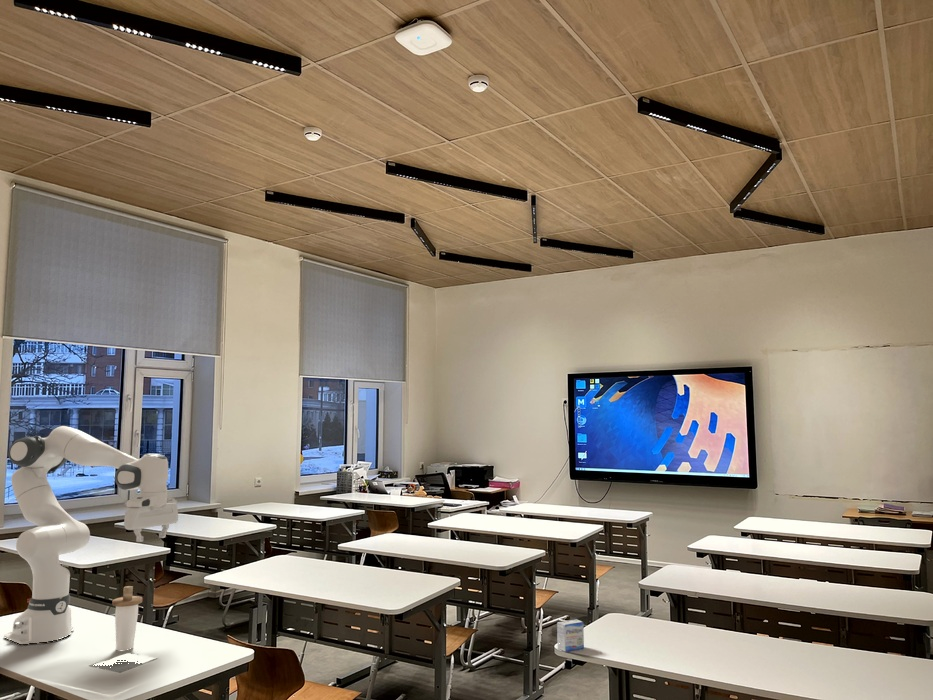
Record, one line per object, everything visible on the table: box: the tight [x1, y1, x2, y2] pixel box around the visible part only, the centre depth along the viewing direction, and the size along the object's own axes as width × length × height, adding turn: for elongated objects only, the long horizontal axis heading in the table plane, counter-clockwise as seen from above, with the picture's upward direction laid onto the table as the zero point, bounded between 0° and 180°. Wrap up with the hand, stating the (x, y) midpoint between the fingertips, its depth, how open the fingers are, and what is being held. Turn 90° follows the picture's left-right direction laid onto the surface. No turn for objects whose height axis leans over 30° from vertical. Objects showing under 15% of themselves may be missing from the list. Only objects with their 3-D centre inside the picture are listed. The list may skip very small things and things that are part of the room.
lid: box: [111, 585, 143, 607], centre depth 224 cm, size 9×9×5 cm
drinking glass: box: [114, 604, 139, 651], centre depth 223 cm, size 7×7×15 cm
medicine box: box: [556, 618, 585, 653], centre depth 223 cm, size 8×4×9 cm, turn 117°
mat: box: [88, 660, 143, 673], centre depth 209 cm, size 14×14×1 cm
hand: (151, 539), depth 236 cm, fingers open, 8 cm apart
